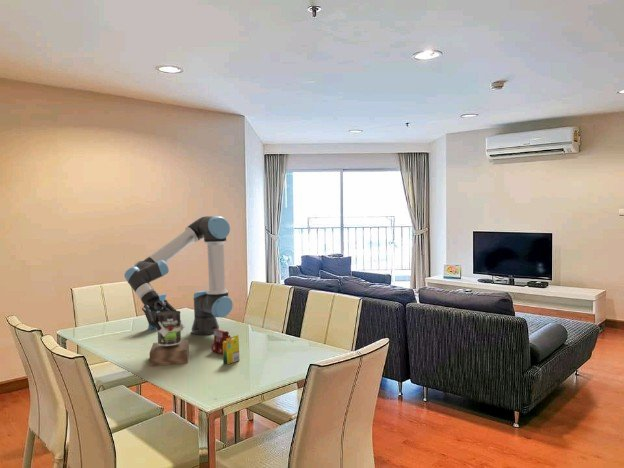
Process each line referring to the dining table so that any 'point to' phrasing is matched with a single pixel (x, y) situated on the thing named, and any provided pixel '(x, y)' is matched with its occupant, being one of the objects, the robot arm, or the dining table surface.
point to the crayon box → (231, 350)
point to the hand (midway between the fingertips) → (174, 331)
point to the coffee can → (169, 328)
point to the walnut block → (169, 354)
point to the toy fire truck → (219, 340)
